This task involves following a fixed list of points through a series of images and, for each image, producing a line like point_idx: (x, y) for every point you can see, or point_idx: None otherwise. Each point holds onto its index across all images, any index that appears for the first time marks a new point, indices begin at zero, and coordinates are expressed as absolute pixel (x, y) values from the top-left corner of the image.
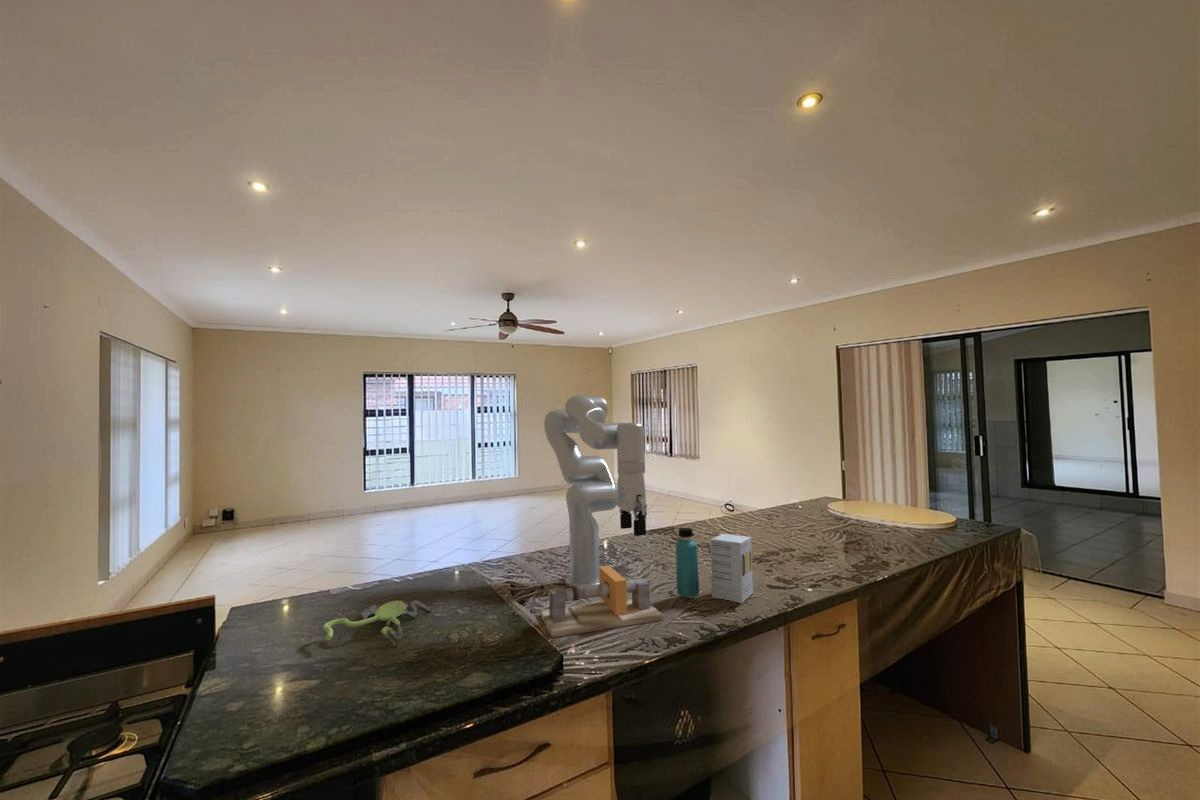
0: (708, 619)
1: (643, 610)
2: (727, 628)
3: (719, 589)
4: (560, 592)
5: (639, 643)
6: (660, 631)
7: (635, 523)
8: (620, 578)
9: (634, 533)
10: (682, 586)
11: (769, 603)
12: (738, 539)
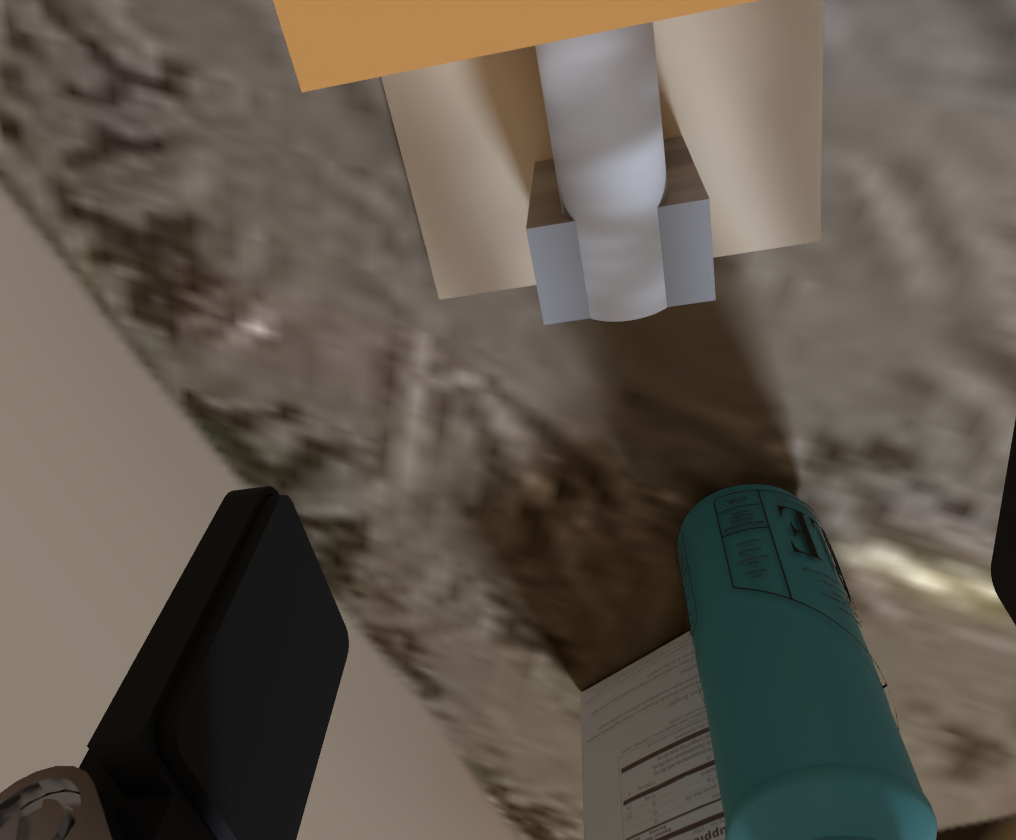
0: (425, 510)
1: (522, 191)
2: (312, 546)
3: (673, 683)
4: None
5: (103, 47)
6: (281, 226)
7: (137, 694)
8: (365, 29)
9: (222, 508)
10: (715, 537)
11: (566, 774)
12: None
